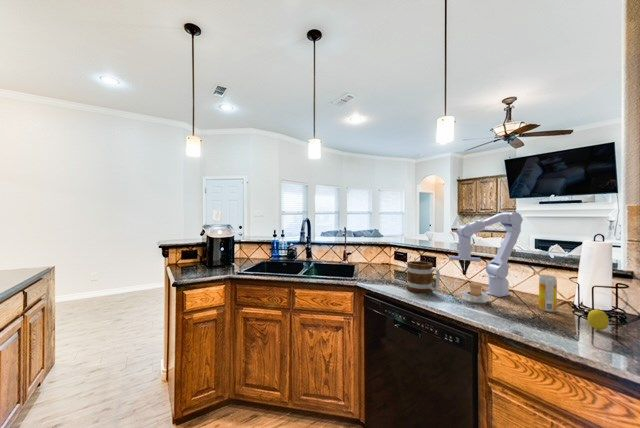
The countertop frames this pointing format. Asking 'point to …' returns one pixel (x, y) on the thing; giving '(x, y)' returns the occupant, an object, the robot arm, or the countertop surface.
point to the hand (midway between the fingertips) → (464, 274)
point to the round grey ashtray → (474, 297)
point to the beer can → (547, 293)
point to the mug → (421, 277)
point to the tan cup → (475, 288)
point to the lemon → (598, 319)
